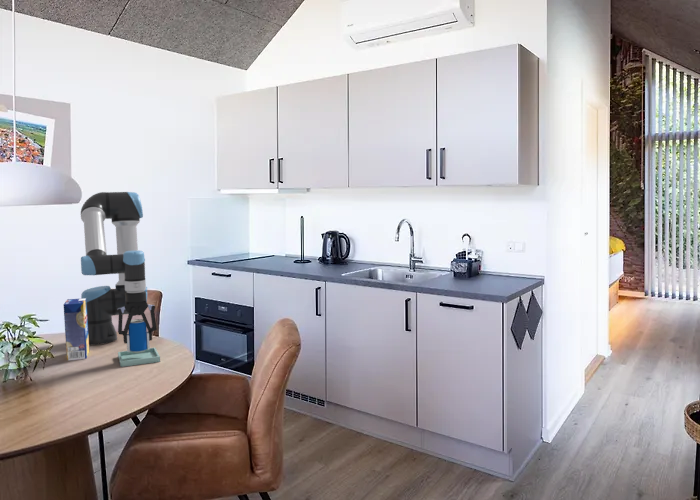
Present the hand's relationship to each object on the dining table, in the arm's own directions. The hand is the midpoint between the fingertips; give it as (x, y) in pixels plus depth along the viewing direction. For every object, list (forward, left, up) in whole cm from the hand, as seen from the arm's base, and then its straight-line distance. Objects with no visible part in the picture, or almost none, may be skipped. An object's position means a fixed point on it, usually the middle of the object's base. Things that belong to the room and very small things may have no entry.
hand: (138, 349), depth 217 cm
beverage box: (-16, -21, -4) cm, 27 cm away
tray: (0, 0, -4) cm, 4 cm away
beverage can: (0, 0, -1) cm, 1 cm away
